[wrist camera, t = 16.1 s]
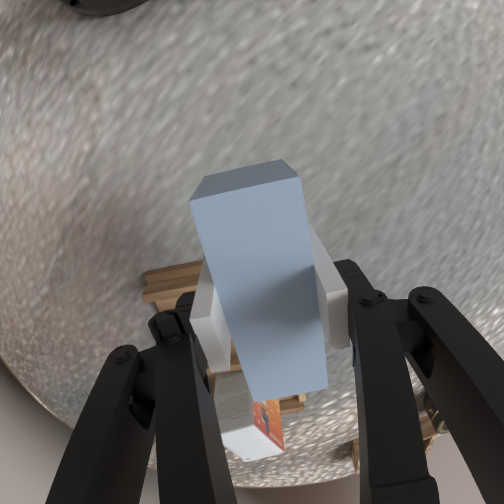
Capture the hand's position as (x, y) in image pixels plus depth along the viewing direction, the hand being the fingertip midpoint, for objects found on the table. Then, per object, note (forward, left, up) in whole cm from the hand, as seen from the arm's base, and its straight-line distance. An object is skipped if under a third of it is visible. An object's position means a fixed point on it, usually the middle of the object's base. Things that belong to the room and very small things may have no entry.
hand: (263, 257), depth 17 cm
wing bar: (+1, 0, -1) cm, 1 cm away
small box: (+25, -6, -14) cm, 30 cm away
